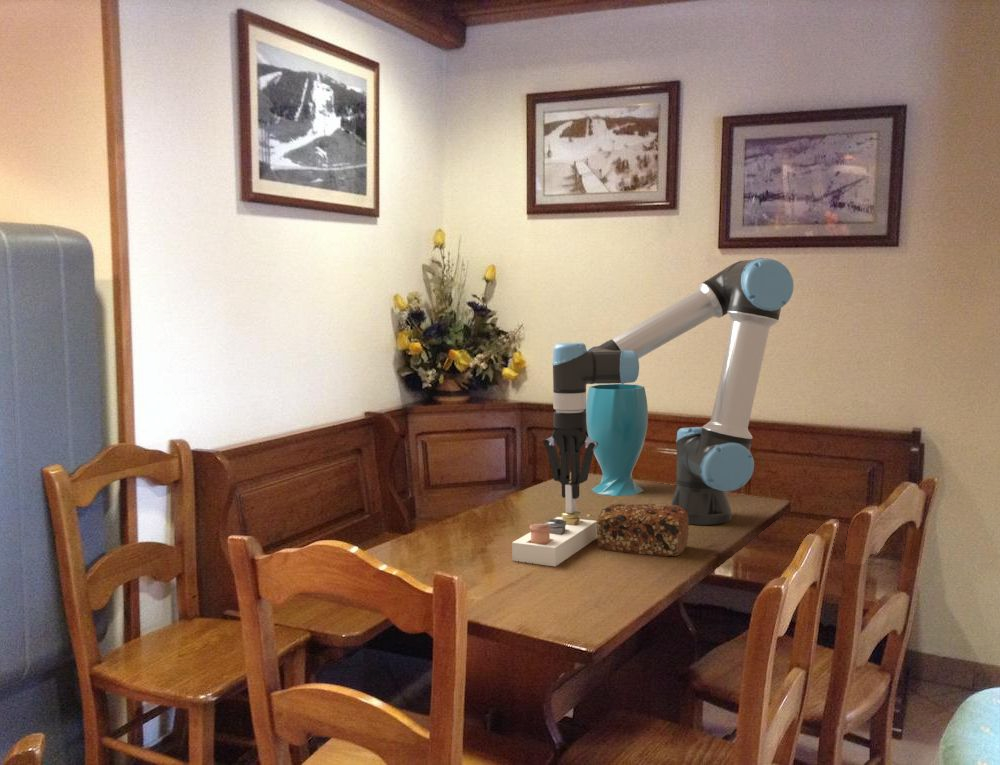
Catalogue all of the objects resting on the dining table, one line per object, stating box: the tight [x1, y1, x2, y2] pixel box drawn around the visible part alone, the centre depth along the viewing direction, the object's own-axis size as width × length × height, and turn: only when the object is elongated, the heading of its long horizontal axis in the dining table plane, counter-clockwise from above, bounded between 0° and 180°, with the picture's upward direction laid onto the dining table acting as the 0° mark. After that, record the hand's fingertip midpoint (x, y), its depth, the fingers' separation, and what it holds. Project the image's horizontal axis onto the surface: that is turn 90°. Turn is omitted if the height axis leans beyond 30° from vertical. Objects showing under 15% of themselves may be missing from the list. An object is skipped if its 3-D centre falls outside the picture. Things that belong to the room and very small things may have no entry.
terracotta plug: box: [529, 523, 550, 545], centre depth 189 cm, size 4×4×6 cm
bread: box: [596, 503, 690, 557], centre depth 197 cm, size 19×11×10 cm, turn 64°
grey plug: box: [545, 518, 566, 535], centre depth 197 cm, size 4×4×6 cm
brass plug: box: [561, 510, 582, 526], centre depth 205 cm, size 4×4×6 cm
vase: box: [585, 383, 649, 497], centre depth 254 cm, size 17×17×30 cm
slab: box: [511, 516, 598, 567], centre depth 197 cm, size 10×24×4 cm, turn 153°
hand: (570, 511), depth 204 cm, fingers closed
